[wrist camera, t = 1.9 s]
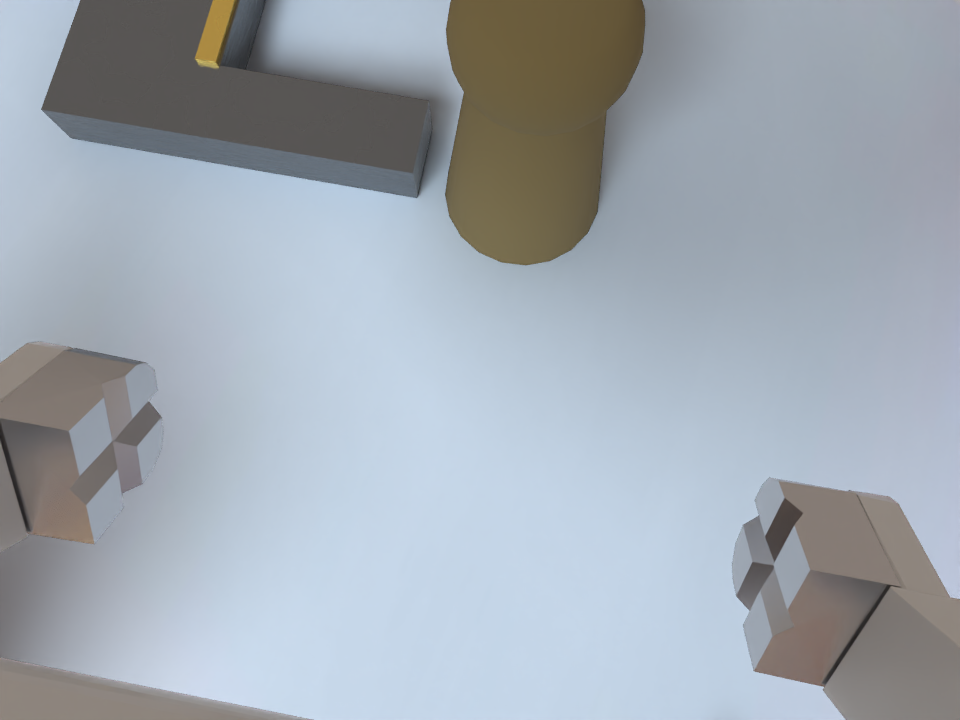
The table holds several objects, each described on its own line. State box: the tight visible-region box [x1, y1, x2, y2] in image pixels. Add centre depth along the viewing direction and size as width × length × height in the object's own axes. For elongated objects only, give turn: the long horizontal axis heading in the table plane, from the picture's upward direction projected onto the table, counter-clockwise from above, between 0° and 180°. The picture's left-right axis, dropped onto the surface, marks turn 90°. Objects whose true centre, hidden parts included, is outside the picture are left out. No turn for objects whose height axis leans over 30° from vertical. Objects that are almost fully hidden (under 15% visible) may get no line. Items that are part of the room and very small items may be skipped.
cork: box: [445, 0, 645, 265], centre depth 22 cm, size 6×6×11 cm
